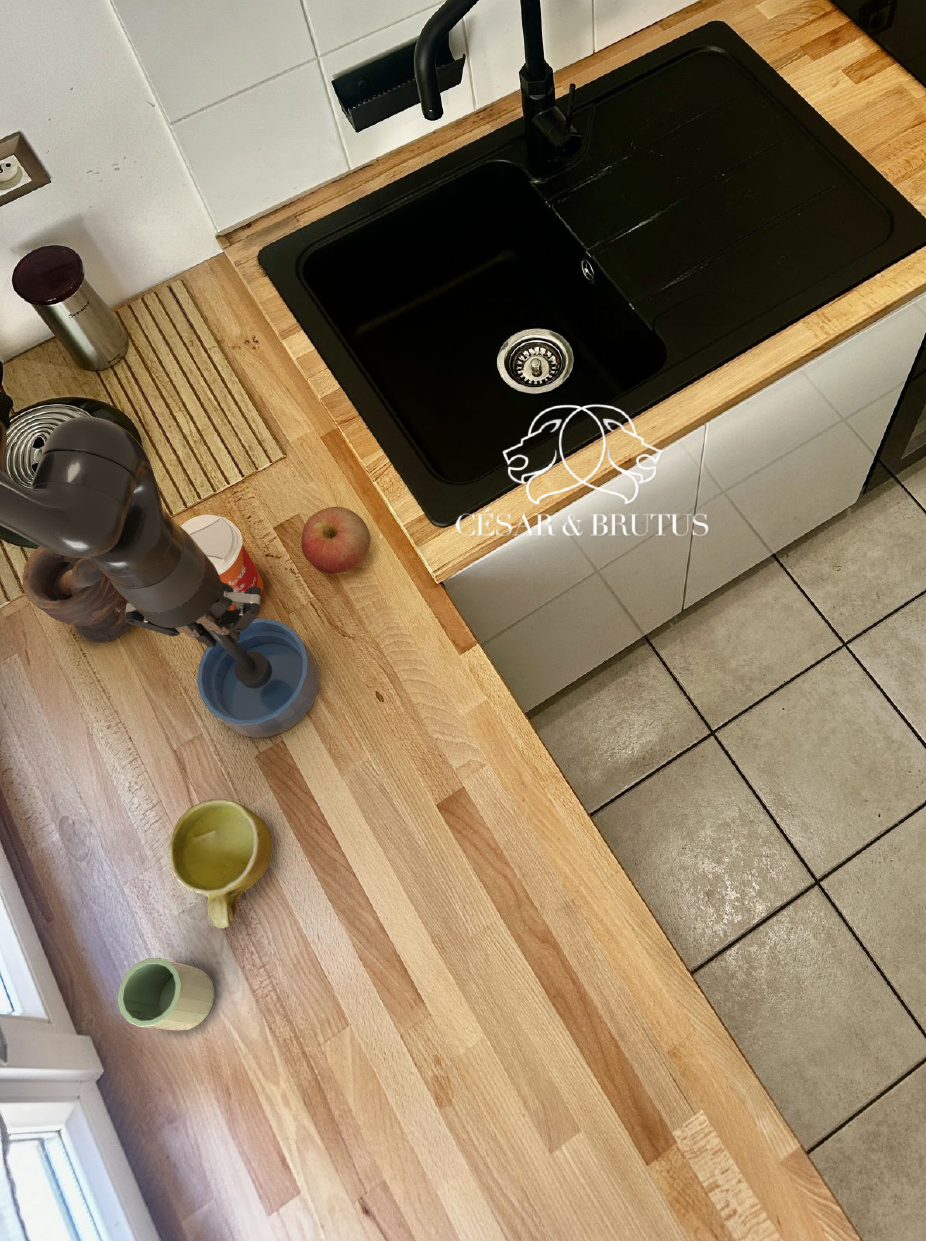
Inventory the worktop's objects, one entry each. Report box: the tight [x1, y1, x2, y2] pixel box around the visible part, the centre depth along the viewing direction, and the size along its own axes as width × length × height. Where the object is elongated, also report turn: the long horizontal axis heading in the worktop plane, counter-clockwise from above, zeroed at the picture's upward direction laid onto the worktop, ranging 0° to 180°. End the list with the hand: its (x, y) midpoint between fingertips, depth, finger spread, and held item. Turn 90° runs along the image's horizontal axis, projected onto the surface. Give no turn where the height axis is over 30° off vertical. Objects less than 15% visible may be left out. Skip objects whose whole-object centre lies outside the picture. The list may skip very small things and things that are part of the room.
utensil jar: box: [117, 957, 215, 1032], centre depth 111 cm, size 6×6×10 cm
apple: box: [301, 506, 371, 575], centre depth 135 cm, size 8×8×8 cm
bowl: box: [196, 617, 320, 739], centre depth 128 cm, size 12×12×6 cm
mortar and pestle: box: [21, 545, 133, 643], centre depth 127 cm, size 12×9×20 cm
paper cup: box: [180, 514, 264, 610], centre depth 130 cm, size 8×8×14 cm
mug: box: [167, 798, 273, 929], centre depth 118 cm, size 12×10×10 cm
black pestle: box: [203, 626, 272, 688], centre depth 120 cm, size 4×4×17 cm
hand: (222, 637), depth 117 cm, fingers closed on black pestle, 1 cm apart
